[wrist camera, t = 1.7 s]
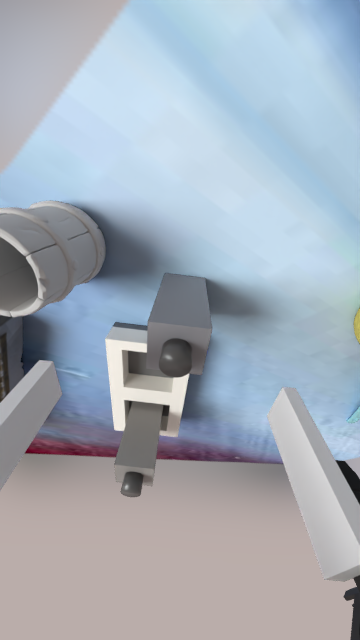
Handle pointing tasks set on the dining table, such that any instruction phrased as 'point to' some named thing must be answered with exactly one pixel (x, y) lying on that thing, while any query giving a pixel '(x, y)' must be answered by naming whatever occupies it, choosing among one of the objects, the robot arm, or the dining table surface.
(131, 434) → the twin plug
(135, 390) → the strip
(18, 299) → the mug
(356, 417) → the ladle
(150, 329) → the plug
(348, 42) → the dining table surface
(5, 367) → the bible
